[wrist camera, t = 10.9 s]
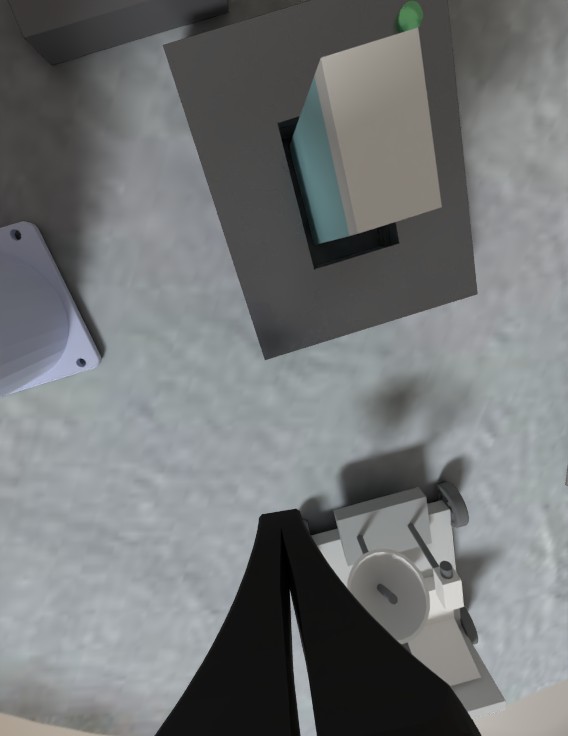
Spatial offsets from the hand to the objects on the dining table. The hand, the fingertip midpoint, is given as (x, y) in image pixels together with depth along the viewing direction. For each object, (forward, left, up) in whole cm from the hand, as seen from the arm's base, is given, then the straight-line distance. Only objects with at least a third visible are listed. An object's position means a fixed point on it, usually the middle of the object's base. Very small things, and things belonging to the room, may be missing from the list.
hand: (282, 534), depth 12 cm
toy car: (+5, -15, -11) cm, 20 cm away
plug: (+7, +11, -10) cm, 17 cm away
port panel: (+7, +11, -10) cm, 17 cm away
